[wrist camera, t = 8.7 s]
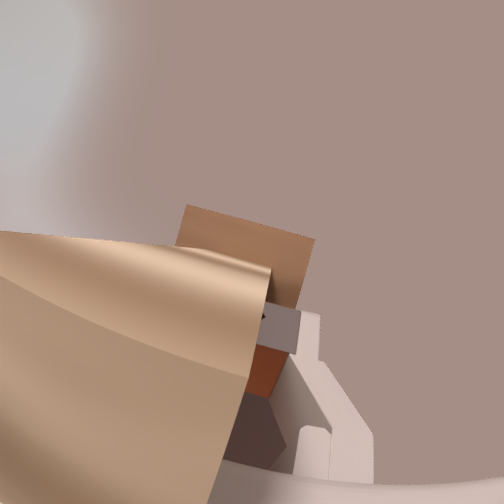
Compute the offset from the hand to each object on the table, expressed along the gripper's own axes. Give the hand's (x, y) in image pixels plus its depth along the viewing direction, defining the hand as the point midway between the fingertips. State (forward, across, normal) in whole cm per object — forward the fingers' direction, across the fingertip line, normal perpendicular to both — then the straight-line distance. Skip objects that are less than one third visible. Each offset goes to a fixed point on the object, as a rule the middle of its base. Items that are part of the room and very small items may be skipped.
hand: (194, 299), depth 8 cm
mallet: (+2, 0, +4) cm, 4 cm away
